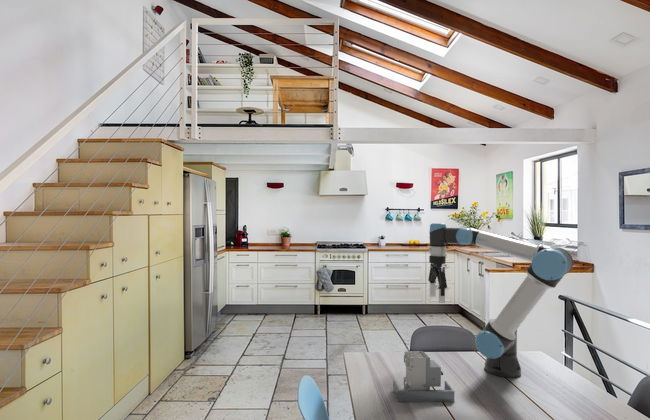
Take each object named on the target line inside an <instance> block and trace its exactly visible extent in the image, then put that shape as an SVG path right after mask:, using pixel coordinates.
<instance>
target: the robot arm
mask: <svg viewBox="0 0 650 420" xmlns="http://www.w3.org/2000/svg"><path fill="white" fill-rule="evenodd" d="M447 244H448V245H449V244H451V245H460V246H464V245H467V246H468V245H473V246H477V247H481V248H483V249H486V250H487V249H488V250H490V251H493V252H498V253H500V254H504V255H507V256H510V257H514V258H517V259H520V260H524V261H526V262H531V263H530V264H529V266H528V267H527V269H526V274H527V275H526V277H525V278H524V280H523V281H522V282H521V284H520V285H519V287H517V290H516V291H515V292H514V294H513V295H512V296H511V298H510V299H508V302H507V303H506V304H505V306H504V307H503V308H502V310H501V311H500V313H499V314H498V315H497V317H496V318H490V319H489V320H488V322H487V323H486V324H485V326H484V328H483V329H482V330H480V331H479V332H478V333H477V335H476V336H475V339H474V343H475V346H476V349H477V350H478V352H479V353H480V354H481V355H482V356H484V357H485V358H486V359H485V361H484V369H485V371H486V372H488V373H489V374H491V375H494V376H498V377H502V378H518V377H520V376H521V375H522V369H521V365H520V362H519V359H518V356H517V351H518V344H517V343H518V342H517V341H518V329H519V327H520V326H521V325H522V323H523V322H524V321H525V320H526V318H527V317H528V316H529V314H530V313H531V312H532V311H533V309H534V308H535V306H536V305H537V304H538V303H539V301H540V300H541V299H542V298H543V296H544V295H545V293H546V292H547V291H548V290H549V289H554V288H556V287H557V285H558V284H559V282H561V280H562V279H563V277H564V276H565V275H566V274H569V273H570V272H571V270H572V269H573V266H574V258H573V256H572V255H571V253H570V252H569V251H567V250H566V249H564V248H562V247H557V246H550V245H545V244H542V243H541V244H539V245H535V244H532V243H528V242H525V241H524V242H523V241H521V240H518V239H515V238H510V237H506V236H503V235H502V236H501V235H498V234H494V233H490V232H486V231H484V230H479V229H476V228H474V227H471V226H469V227H447V225H446V223H439V222H437V223H436V222H434V223H431V224H429V247H428V251H429V256H428V258H429V259H428V260H429V261H428V262H429V264H430V267H429V268H430V269H429V273H428V274H429V275H428V282H429V297H431V298H432V297H436V294H437V293H436V292H437V289H436V288H437V287H436V285H437V284H436V283H438V303H441V304H445V303H446V289H448V285H447V277H446V271H445V269H446V267H444V266H443V265H445V264H446V262H447V261H446V256H445V255H447V254H446V253H447V246H446V245H447ZM436 280H437V281H436Z"/></svg>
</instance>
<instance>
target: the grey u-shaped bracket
mask: <svg viewBox="0 0 650 420" xmlns="http://www.w3.org/2000/svg"><path fill="white" fill-rule="evenodd" d="M392 392H393V394H394V396H395V399H396V401H397V403H455V390H454V389H453V388H452V386H451V385H450V384H449V383H448V381H447V380H444V389H430V390H404V389H399V388H398V385H397V383H396V381H395V380H392Z"/></svg>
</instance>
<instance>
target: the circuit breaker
mask: <svg viewBox="0 0 650 420" xmlns="http://www.w3.org/2000/svg"><path fill="white" fill-rule="evenodd" d="M403 363H404V364H405V376H403V390H431V387H432V388H434V387H436V388H437V387H442V385H441V384H442V383H441V382H442V378H441V377H442V376H443V375H444V372H443V370H442V368H441V366H440V365H439V364H438V363H437V362H436V361H435V360H434V359H431V357H429V355H428V354H427V353H426V352H424V351H423V350H417V351H416V350H415V351H414V350H413V351H412V350H411V351H409V350H408V351H404V354H403Z"/></svg>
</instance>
